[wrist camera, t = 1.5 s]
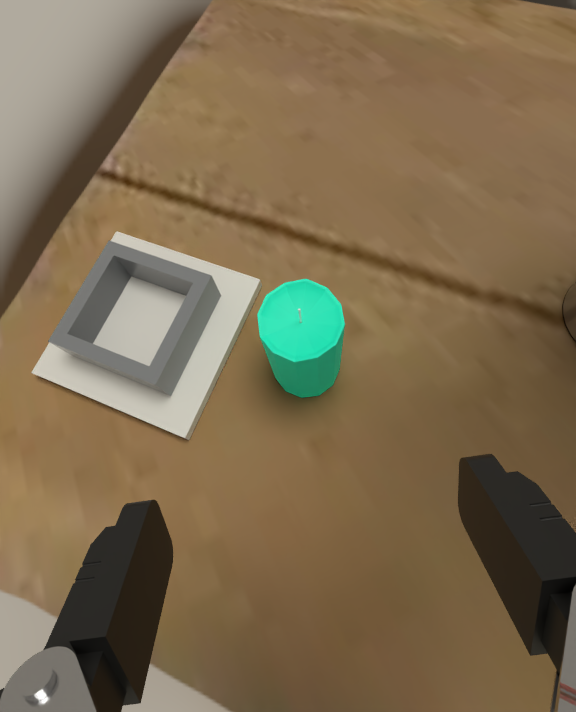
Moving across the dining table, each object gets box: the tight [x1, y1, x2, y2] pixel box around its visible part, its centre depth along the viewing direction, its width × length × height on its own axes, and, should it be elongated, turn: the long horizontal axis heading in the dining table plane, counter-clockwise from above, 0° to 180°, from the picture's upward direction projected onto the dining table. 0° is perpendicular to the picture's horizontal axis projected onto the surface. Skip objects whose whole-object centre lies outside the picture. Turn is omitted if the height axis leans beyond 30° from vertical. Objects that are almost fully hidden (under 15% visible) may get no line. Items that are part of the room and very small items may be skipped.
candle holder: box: [31, 231, 262, 440], centre depth 40 cm, size 16×16×5 cm
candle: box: [257, 279, 345, 398], centre depth 34 cm, size 6×6×12 cm
